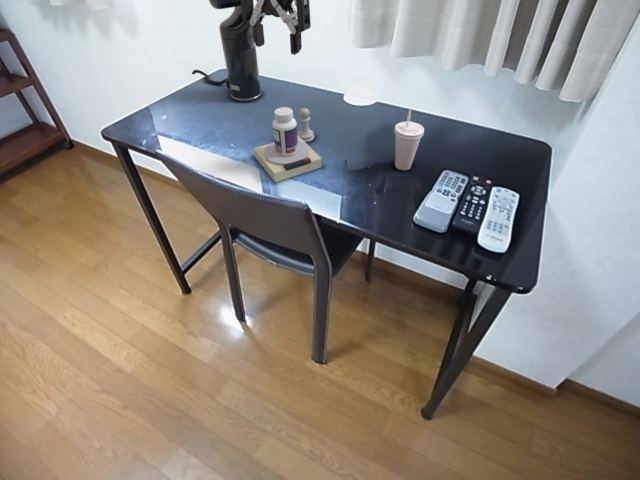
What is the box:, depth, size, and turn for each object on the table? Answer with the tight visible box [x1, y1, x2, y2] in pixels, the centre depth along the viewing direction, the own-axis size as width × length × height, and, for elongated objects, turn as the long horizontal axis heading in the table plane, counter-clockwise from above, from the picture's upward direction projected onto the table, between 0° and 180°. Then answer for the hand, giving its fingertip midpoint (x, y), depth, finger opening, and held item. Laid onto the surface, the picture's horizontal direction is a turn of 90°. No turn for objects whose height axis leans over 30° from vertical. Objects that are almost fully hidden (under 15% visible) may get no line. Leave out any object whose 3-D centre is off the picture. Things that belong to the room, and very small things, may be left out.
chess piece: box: [297, 107, 315, 143], centre depth 95 cm, size 5×5×8 cm
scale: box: [253, 136, 323, 183], centre depth 88 cm, size 12×12×3 cm
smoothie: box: [393, 107, 425, 171], centre depth 83 cm, size 6×6×14 cm
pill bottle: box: [271, 106, 298, 156], centre depth 84 cm, size 5×5×10 cm
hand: (277, 49), depth 74 cm, fingers open, 8 cm apart
